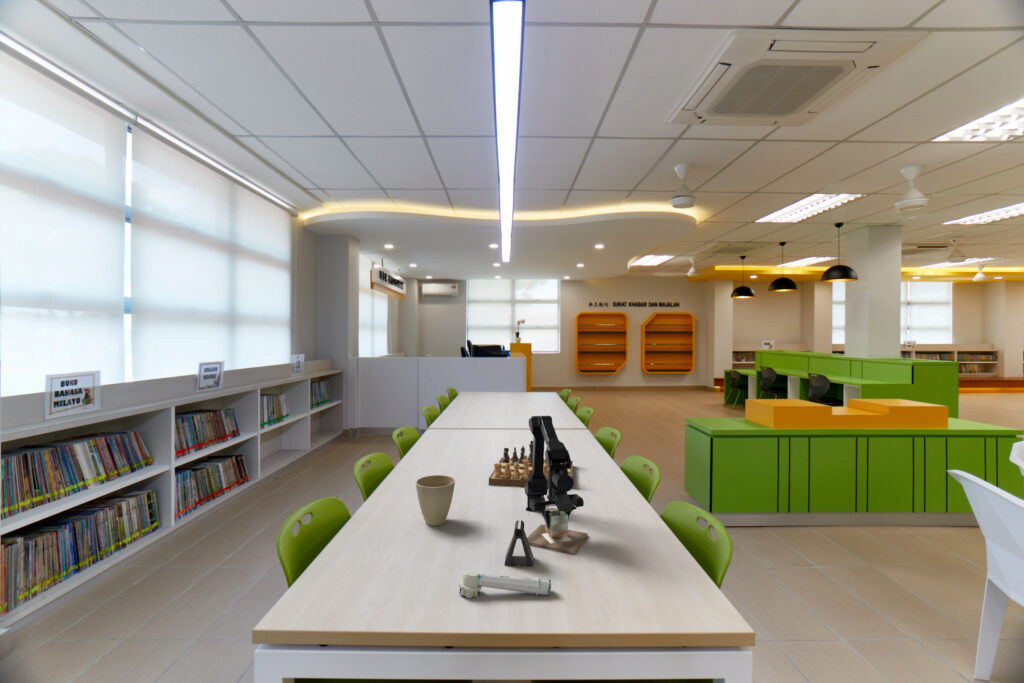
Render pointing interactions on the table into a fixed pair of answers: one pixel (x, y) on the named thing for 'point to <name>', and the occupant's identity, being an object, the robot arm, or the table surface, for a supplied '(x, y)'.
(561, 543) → the pin board
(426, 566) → the table surface
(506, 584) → the toothbrush head
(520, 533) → the phone stand
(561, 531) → the sleeve
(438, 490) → the plant pot
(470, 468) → the table surface
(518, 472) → the chess set
